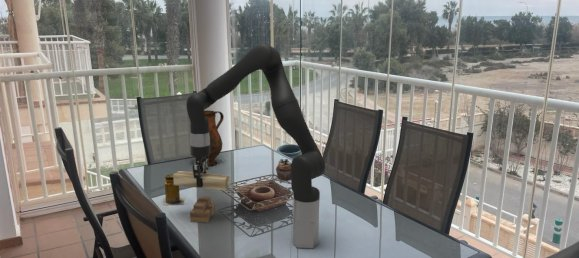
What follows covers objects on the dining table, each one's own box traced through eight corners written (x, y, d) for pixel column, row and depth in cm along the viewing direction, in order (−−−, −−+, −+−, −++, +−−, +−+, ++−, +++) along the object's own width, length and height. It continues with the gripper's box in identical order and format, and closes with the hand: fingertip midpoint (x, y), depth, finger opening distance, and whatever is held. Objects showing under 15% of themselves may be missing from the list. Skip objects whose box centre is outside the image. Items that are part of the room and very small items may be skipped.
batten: (225, 190, 167) (225, 179, 166) (173, 185, 172) (173, 174, 171) (229, 186, 171) (229, 175, 170) (179, 181, 176) (178, 170, 175)
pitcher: (186, 164, 241) (183, 112, 234) (213, 156, 257) (212, 107, 250) (206, 170, 231) (204, 116, 224) (234, 161, 248) (233, 110, 241)
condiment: (166, 198, 193) (165, 173, 190) (185, 198, 194) (184, 172, 191) (163, 205, 186) (161, 178, 183) (183, 204, 187) (182, 178, 184)
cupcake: (297, 180, 219) (297, 161, 217) (279, 182, 215) (279, 163, 213) (290, 174, 228) (290, 156, 225) (273, 176, 224) (273, 157, 222)
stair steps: (207, 222, 170) (207, 206, 168) (190, 221, 170) (189, 205, 169) (214, 212, 179) (214, 196, 178) (198, 211, 180) (197, 195, 178)
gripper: (204, 148, 160) (205, 191, 164) (214, 139, 174) (215, 179, 178) (184, 148, 161) (186, 190, 165) (196, 138, 175) (198, 178, 179)
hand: (201, 184), depth 172 cm, fingers closed on batten, 4 cm apart
